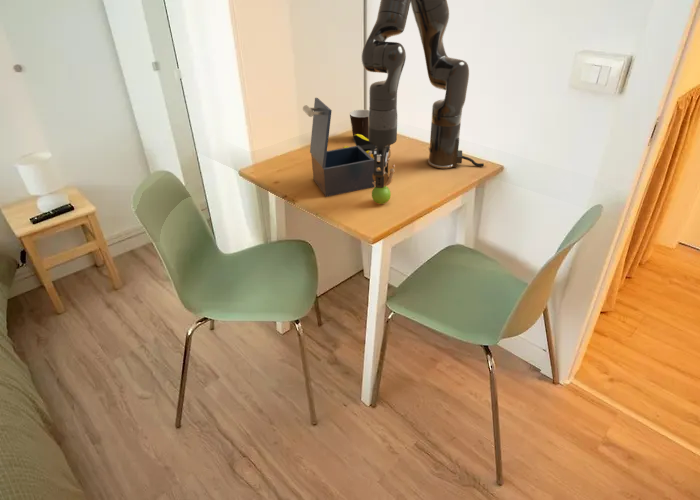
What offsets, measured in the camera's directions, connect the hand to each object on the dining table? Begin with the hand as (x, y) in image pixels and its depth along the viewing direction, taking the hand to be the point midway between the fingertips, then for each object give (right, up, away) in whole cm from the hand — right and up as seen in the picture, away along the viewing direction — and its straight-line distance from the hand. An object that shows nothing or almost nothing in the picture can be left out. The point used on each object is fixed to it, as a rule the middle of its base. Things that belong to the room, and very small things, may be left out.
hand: (381, 180), depth 130 cm
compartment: (-11, +1, +15) cm, 19 cm away
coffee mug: (-5, +21, +45) cm, 50 cm away
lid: (-17, +14, +4) cm, 23 cm away
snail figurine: (+1, -6, +4) cm, 7 cm away
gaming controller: (-5, +13, +33) cm, 36 cm away
